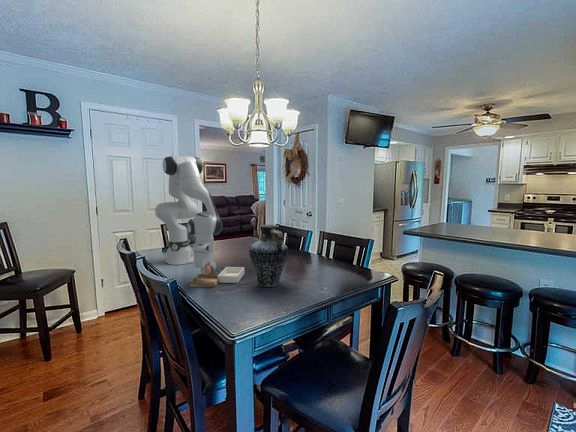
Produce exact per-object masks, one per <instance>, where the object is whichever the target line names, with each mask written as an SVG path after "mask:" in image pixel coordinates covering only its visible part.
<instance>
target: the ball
mask: <svg viewBox="0 0 576 432" xmlns="http://www.w3.org/2000/svg"><path fill="white" fill-rule="evenodd" d="M205 270H206V273H205V274H204V275H207V274H209V273H210V272H211V268H210V266H208V265H205Z"/></svg>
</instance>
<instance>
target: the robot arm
mask: <svg viewBox="0 0 576 432" xmlns="http://www.w3.org/2000/svg"><path fill="white" fill-rule="evenodd" d="M162 170H163V173H165V174H166V175H168V194H169V195H170V197H172V198H174V199H175V200H176V199H177V200H178V201H166V202H162V203H161V202H160V203H158V204H157V205H156V207H155V209H154V213H155V216H156V217H157V218H158V219H159V220H160V221H162V222H163V223H164V224H165V226H166V227H167V231H168V248H167V249H166V259H165V260H164V263H167V264H169V265H172V266H173V265H175V266H176V265H177V266H178V265H179V266H180V265H186V264H191V263H193V264H194V267H195V268H196V269H197V268H199V269H200V273H201V275H203V274H205V273H206V270H205V265H208V266H210V264H211V260H212V261H213V260H214V259H215V255H216V253H215V244H214V243H215V240H214V236H218V235H219V234H220V233H221V232H222V231H223V228H224V224H223V222H222V219H221V218H220V215H219V213H218V210H217V207H216V205H215V201H214V198H213V196H212V194H211V192H210V191H209V189H207V188H206V187H205V185H204V184H203V183H202V182H203V181H202V179H201V175H200V174H202V172H203V170H204V164H203V160H202V159H201V158H200V157H197V156H188V155H183V156H182V155H181V156H172V155H170V156H165V157H164V158H163V161H162ZM192 199H195V200H198V201H200V202H201V203H203V204H204V206H205V208H206V209H205V210H206V212H199V208H198V204H197V203H196V202H194V201H193V200H192ZM183 219H184V220H185V219H189V220H188V222H186V226H185V225H183V224H181V223H178V220H183ZM188 234H189V235H190V236H191V237H195V243H194V245H193V247H191V246H190V243H191V240H190V239H189V238H188Z"/></svg>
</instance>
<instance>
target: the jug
mask: <svg viewBox="0 0 576 432" xmlns="http://www.w3.org/2000/svg"><path fill="white" fill-rule="evenodd" d="M259 227H260V232H261V237H260V239H258V240H257V241H255V242H254V243H252V244H251V245H250V247H249V250H248V253H249V257H250V260H251V263H252V266H253V268H254V271H255V273H256V281H257V284H258V286H260V287H269V288H271V287H272V288H273V287H276V286H278V285H280V284H279V283H280V279H281V276H282V273H283V270H284V267H285V265H286V262H287V260H288V256H289V248H288V246H287V245H286V244H285V243H284V240H285V239H284V238H285V237H284V234H283V232H282V231H279V227H280V226H279V225H277V224H263V225H260V226H259Z"/></svg>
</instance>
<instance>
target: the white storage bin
mask: <svg viewBox="0 0 576 432" xmlns="http://www.w3.org/2000/svg"><path fill="white" fill-rule="evenodd" d="M244 275H245V267H243V266H242V267H241V266H226V267H225V268H224V269H223V270H221V273H220V274H219V275H218V276H217V278H219V283H218V284H220V283H221V284H223V283H224V284H225V283H226V284H227V283H228V284H238V283H239V282H240V280H241V279H242V277H243V276H244Z"/></svg>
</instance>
